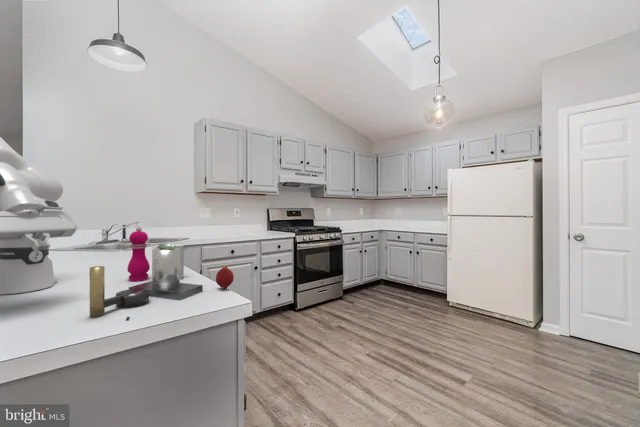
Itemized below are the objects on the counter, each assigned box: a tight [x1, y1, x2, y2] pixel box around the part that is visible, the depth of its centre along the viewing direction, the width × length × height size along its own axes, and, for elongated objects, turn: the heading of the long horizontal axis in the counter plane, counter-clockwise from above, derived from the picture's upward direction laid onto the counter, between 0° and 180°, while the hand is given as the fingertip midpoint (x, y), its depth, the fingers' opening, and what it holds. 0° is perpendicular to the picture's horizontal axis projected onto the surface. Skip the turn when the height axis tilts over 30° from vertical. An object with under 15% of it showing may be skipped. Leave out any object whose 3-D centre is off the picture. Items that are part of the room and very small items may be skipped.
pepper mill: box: [126, 226, 151, 283], centre depth 112 cm, size 7×7×20 cm
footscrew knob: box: [89, 265, 150, 318], centre depth 80 cm, size 8×16×12 cm, turn 163°
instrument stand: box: [125, 243, 204, 321], centre depth 87 cm, size 20×27×16 cm
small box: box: [156, 243, 185, 280], centre depth 114 cm, size 8×6×13 cm
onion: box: [215, 264, 235, 289], centre depth 101 cm, size 6×6×8 cm
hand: (42, 248), depth 77 cm, fingers closed
